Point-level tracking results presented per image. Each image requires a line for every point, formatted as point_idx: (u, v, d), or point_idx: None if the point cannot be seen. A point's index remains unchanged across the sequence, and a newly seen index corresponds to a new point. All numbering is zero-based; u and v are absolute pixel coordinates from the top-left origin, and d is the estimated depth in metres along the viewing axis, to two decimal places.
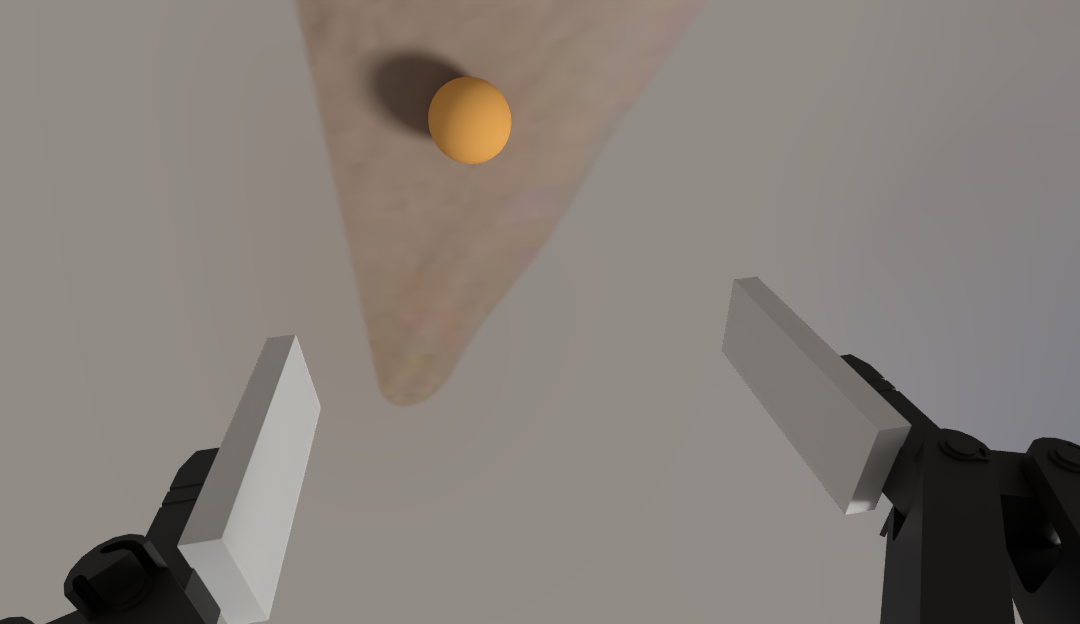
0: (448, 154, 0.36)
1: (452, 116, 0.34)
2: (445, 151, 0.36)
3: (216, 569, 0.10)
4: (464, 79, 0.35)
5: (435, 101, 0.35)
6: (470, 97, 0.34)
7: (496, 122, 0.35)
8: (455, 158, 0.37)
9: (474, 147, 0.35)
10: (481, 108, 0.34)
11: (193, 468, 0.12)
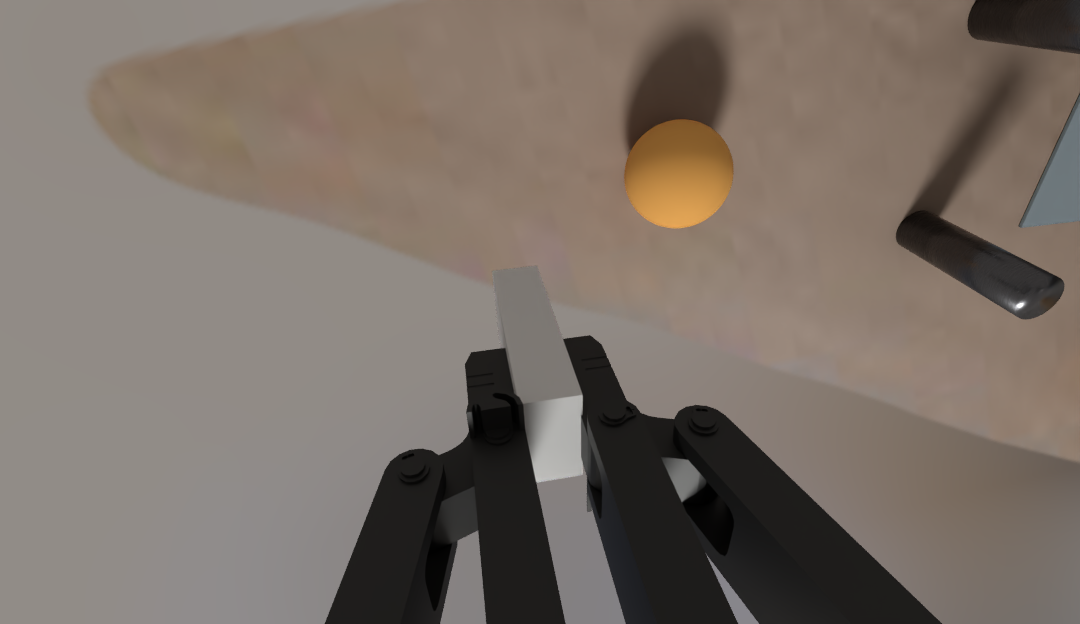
0: (652, 159, 0.27)
1: (713, 163, 0.26)
2: (656, 155, 0.27)
3: (537, 427, 0.13)
4: None
5: (712, 132, 0.27)
6: (729, 180, 0.27)
7: (702, 217, 0.28)
8: (648, 169, 0.27)
9: (676, 197, 0.27)
10: (720, 197, 0.27)
11: (476, 363, 0.15)
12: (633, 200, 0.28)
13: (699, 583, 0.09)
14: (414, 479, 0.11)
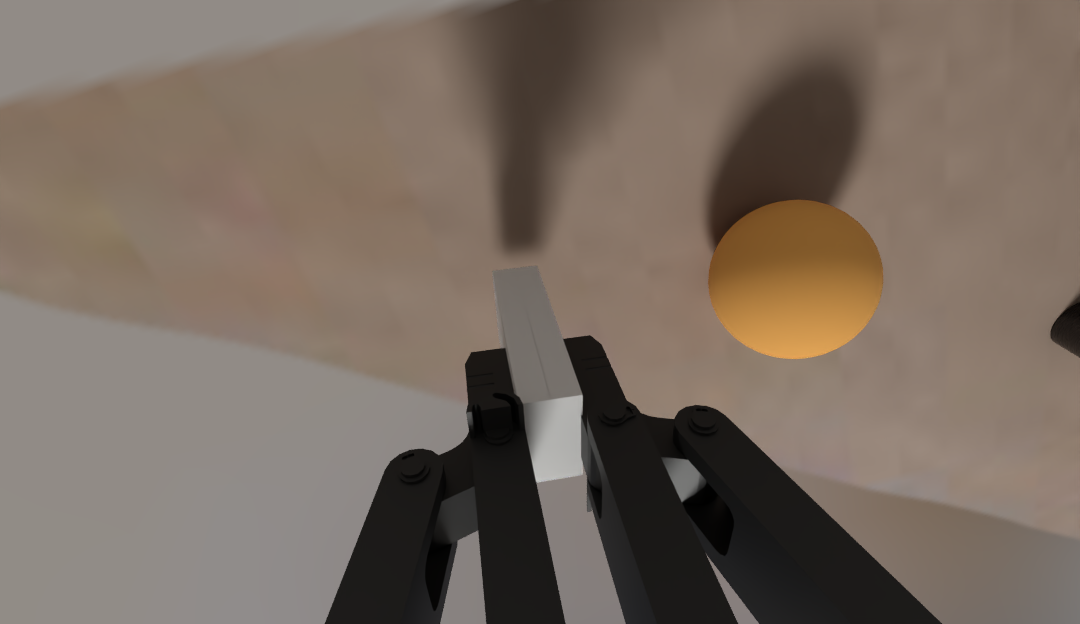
0: (766, 269, 0.17)
1: (863, 276, 0.17)
2: (773, 263, 0.17)
3: (537, 427, 0.13)
4: None
5: (856, 224, 0.17)
6: (880, 296, 0.18)
7: (834, 349, 0.18)
8: (758, 284, 0.17)
9: (804, 327, 0.17)
10: (866, 322, 0.18)
11: (476, 363, 0.15)
12: (726, 319, 0.19)
13: (699, 583, 0.09)
14: (414, 479, 0.11)
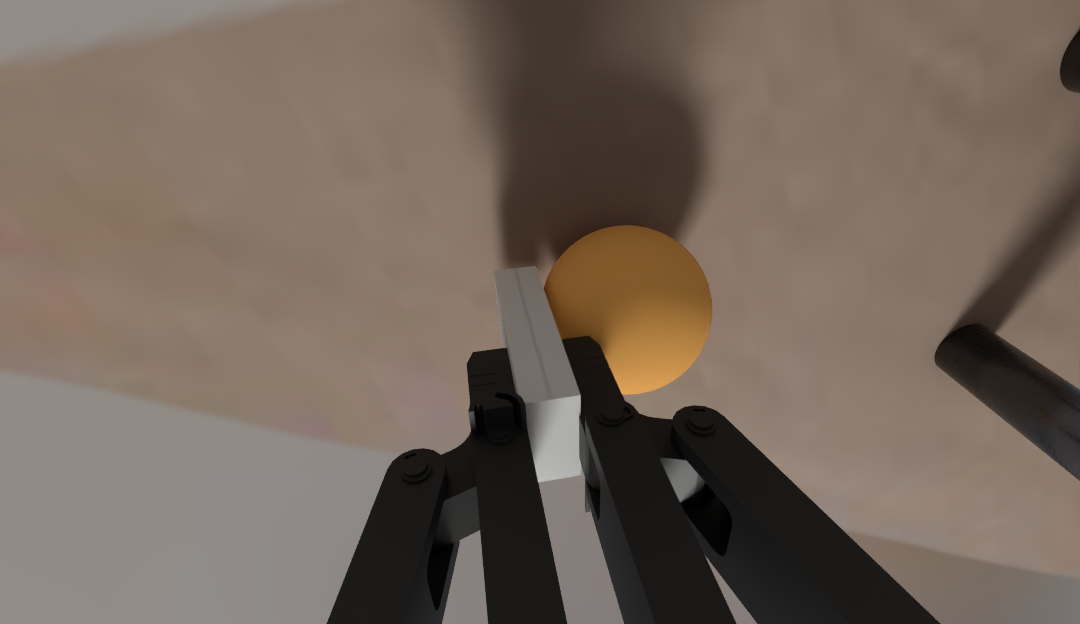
0: (587, 306, 0.16)
1: (686, 306, 0.16)
2: (594, 299, 0.16)
3: (539, 427, 0.13)
4: None
5: (678, 249, 0.17)
6: (709, 322, 0.17)
7: (671, 381, 0.17)
8: (581, 323, 0.16)
9: (633, 365, 0.16)
10: (698, 351, 0.17)
11: (477, 363, 0.15)
12: None
13: (698, 583, 0.09)
14: (416, 479, 0.11)
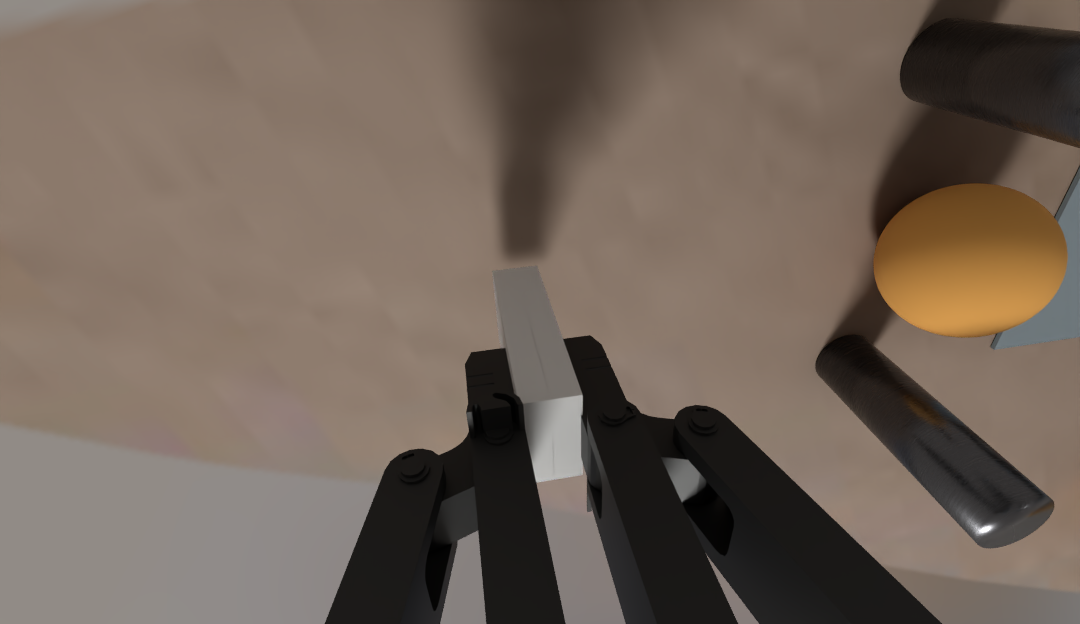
0: (973, 251, 0.18)
1: (1062, 252, 0.18)
2: (980, 245, 0.17)
3: (537, 427, 0.13)
4: None
5: (1039, 203, 0.18)
6: None
7: None
8: (964, 266, 0.18)
9: (1011, 305, 0.18)
10: None
11: (476, 363, 0.15)
12: (913, 304, 0.19)
13: (699, 583, 0.09)
14: (414, 479, 0.11)
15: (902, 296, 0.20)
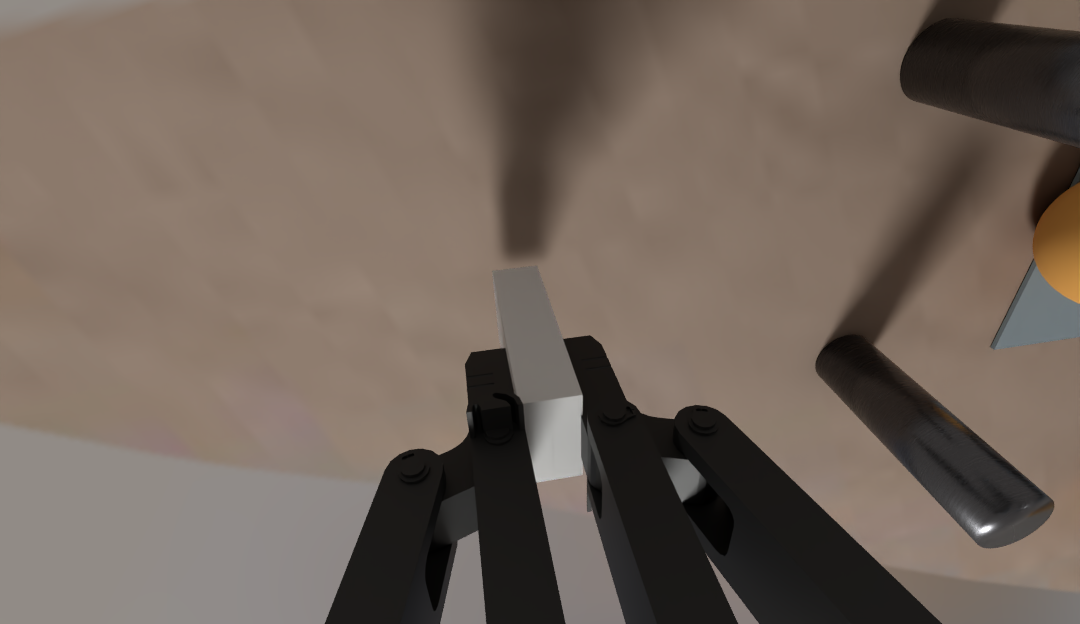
0: None
1: None
2: None
3: (537, 427, 0.13)
4: (1048, 218, 0.21)
5: None
6: None
7: None
8: None
9: None
10: None
11: (476, 363, 0.15)
12: None
13: (699, 583, 0.09)
14: (414, 479, 0.11)
15: None
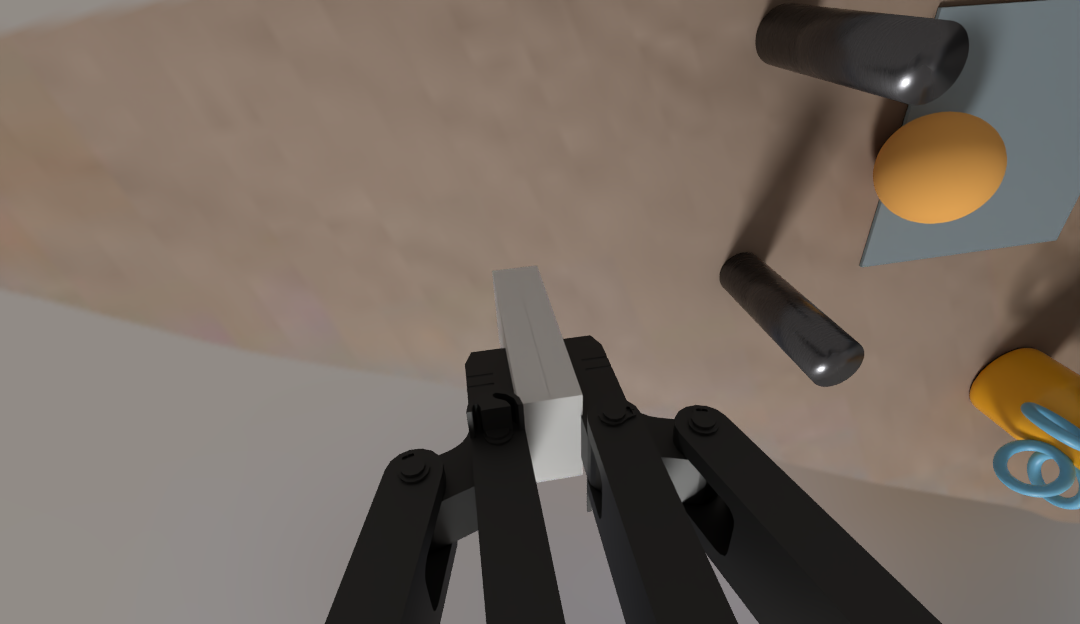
0: None
1: None
2: None
3: (537, 427, 0.13)
4: (879, 155, 0.29)
5: (918, 118, 0.28)
6: None
7: None
8: None
9: None
10: None
11: (476, 363, 0.15)
12: None
13: (700, 583, 0.09)
14: (414, 479, 0.11)
15: None
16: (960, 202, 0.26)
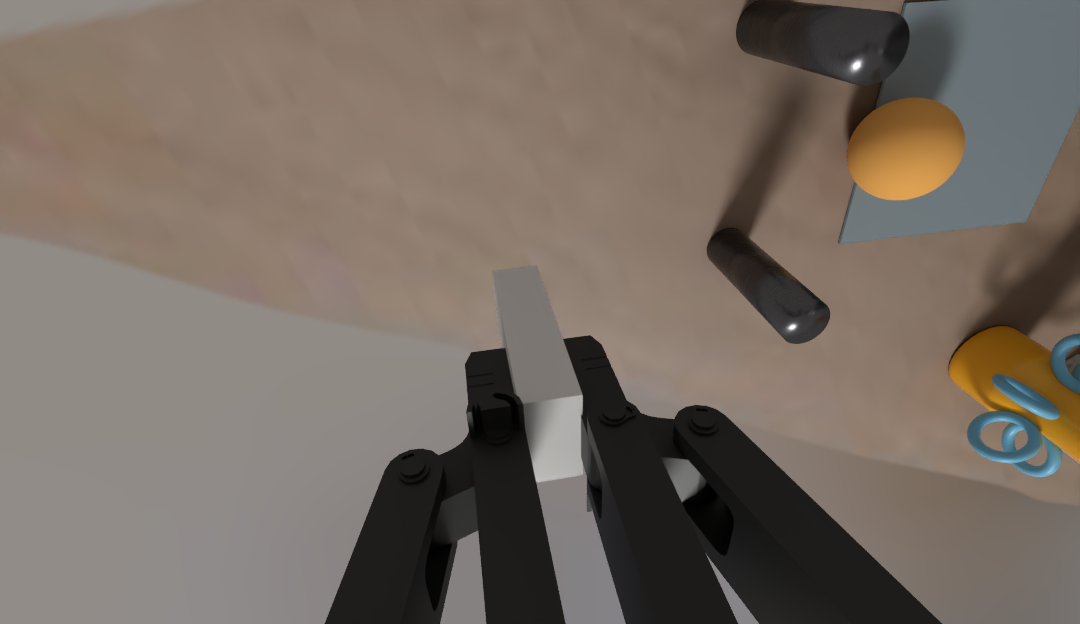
0: None
1: None
2: None
3: (537, 427, 0.13)
4: (851, 137, 0.31)
5: None
6: None
7: None
8: None
9: None
10: None
11: (476, 363, 0.15)
12: None
13: (699, 583, 0.09)
14: (414, 479, 0.11)
15: None
16: (922, 179, 0.29)
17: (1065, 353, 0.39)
